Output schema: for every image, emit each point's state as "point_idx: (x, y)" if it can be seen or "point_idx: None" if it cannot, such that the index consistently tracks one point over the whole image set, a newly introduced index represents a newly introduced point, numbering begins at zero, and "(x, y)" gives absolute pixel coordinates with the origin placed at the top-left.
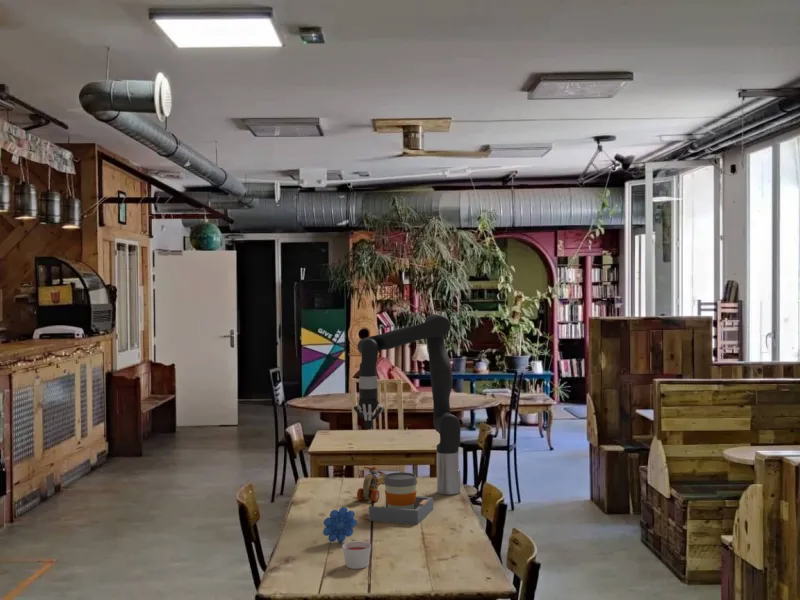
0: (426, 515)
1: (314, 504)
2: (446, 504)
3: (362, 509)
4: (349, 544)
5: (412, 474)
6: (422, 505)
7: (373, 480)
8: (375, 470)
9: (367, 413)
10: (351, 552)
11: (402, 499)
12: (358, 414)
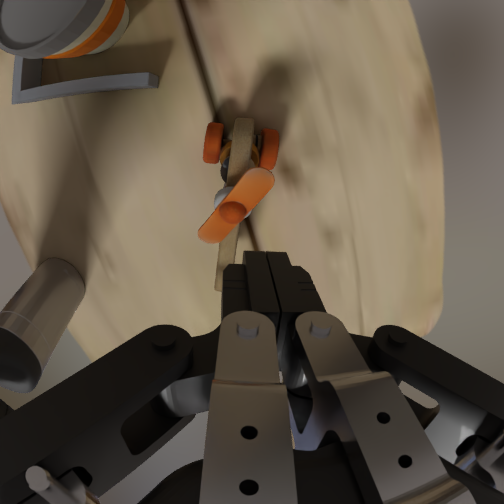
0: None
1: (389, 84)
2: (21, 169)
3: (228, 42)
4: None
5: (5, 45)
6: None
7: (226, 176)
8: (219, 196)
9: (316, 425)
10: None
11: None
12: (460, 363)
